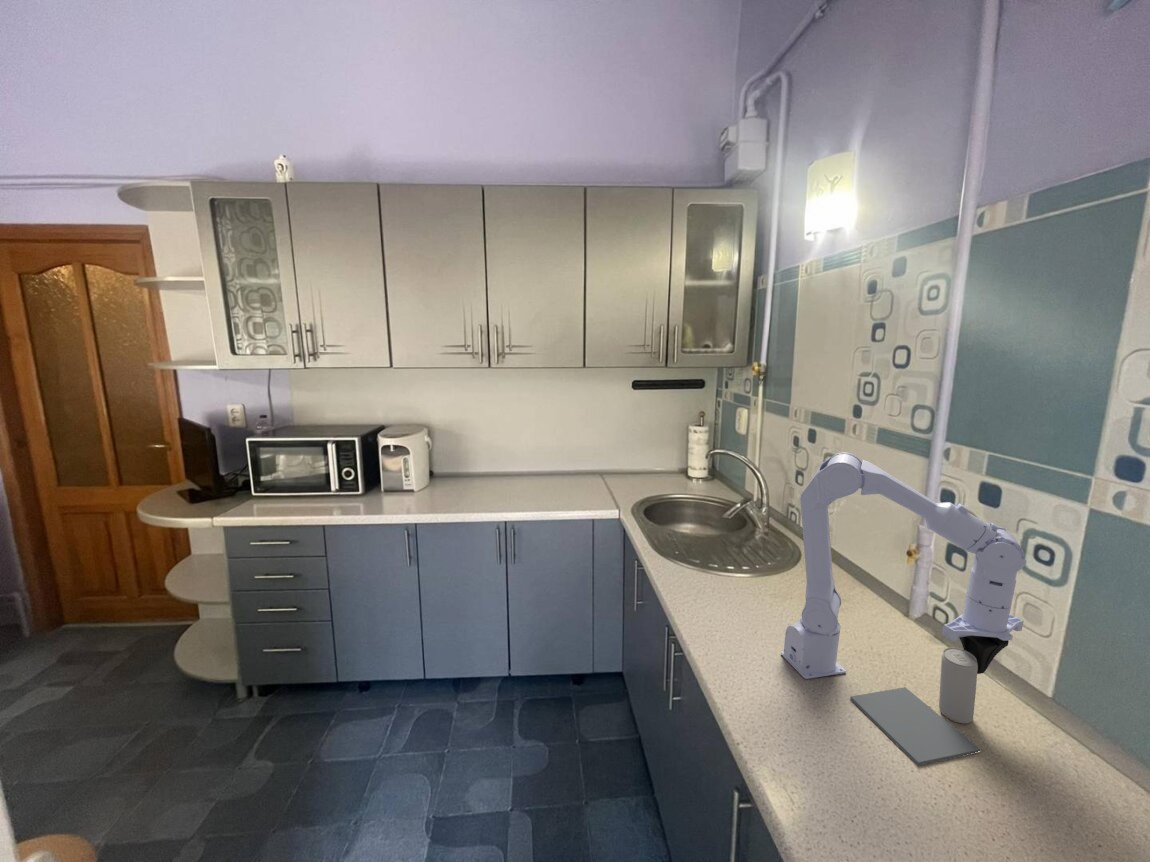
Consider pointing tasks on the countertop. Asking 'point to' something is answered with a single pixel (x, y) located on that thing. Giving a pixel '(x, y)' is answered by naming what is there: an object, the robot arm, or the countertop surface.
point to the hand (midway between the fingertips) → (975, 669)
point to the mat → (914, 726)
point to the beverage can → (958, 685)
